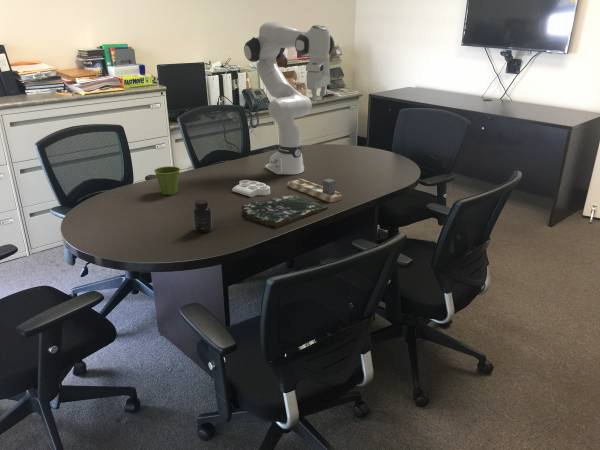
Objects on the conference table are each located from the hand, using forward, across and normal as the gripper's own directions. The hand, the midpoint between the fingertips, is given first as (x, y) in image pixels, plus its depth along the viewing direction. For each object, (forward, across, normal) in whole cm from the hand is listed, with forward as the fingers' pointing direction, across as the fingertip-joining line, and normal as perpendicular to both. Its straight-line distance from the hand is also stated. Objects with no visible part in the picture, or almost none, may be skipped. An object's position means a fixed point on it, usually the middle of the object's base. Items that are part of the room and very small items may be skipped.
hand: (318, 97), depth 228 cm
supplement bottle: (+44, +64, -23) cm, 80 cm away
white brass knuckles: (+44, +15, -27) cm, 54 cm away
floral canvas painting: (+44, +33, -5) cm, 55 cm away
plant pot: (+44, +32, -61) cm, 82 cm away
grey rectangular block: (+41, +9, +9) cm, 43 cm away
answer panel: (+43, +5, 0) cm, 44 cm away
